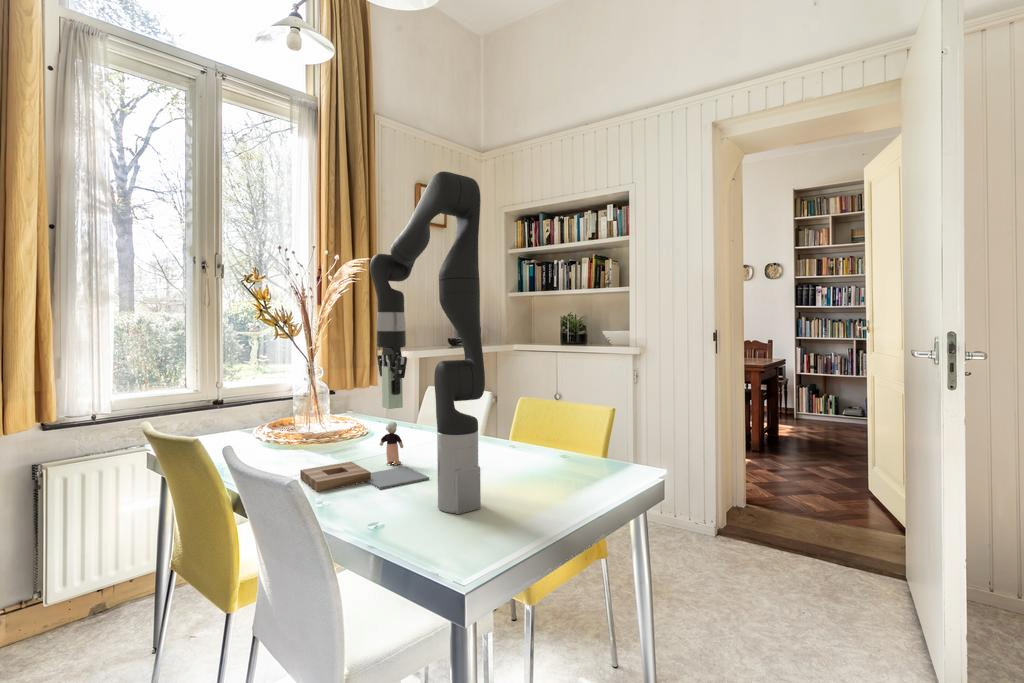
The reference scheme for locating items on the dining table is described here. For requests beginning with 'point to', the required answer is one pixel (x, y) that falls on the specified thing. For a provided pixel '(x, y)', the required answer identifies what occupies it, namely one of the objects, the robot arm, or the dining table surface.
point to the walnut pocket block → (334, 476)
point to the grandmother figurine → (392, 443)
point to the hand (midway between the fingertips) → (392, 393)
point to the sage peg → (390, 391)
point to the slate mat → (395, 477)
